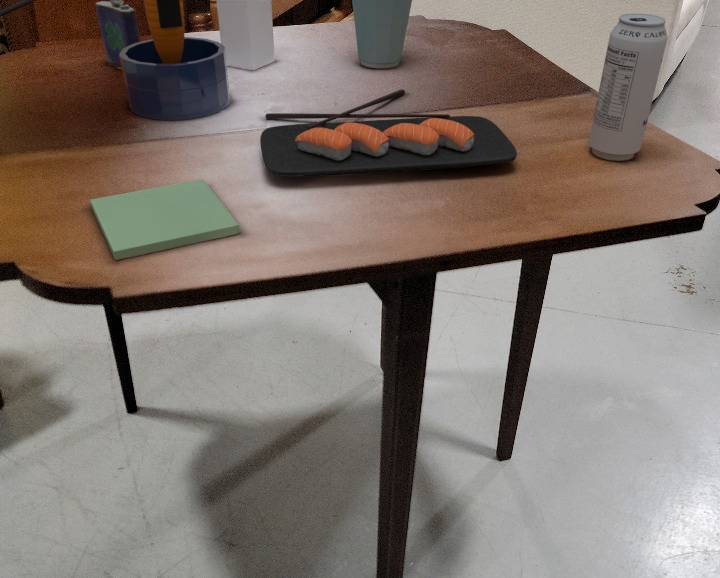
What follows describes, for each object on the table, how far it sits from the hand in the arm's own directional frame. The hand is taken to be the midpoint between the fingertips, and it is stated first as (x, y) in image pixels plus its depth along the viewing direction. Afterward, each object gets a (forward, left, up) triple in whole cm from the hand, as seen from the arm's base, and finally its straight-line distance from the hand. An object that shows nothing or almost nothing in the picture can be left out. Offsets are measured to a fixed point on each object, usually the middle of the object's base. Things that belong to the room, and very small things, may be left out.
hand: (165, 21), depth 95 cm
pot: (0, 0, -11) cm, 11 cm away
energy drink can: (+40, +42, -11) cm, 59 cm away
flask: (-20, -3, -11) cm, 23 cm away
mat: (+34, -11, -11) cm, 37 cm away
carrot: (0, 0, -7) cm, 7 cm away
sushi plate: (+22, +19, -11) cm, 31 cm away
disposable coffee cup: (-5, +34, -11) cm, 36 cm away
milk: (-14, +15, -11) cm, 23 cm away
